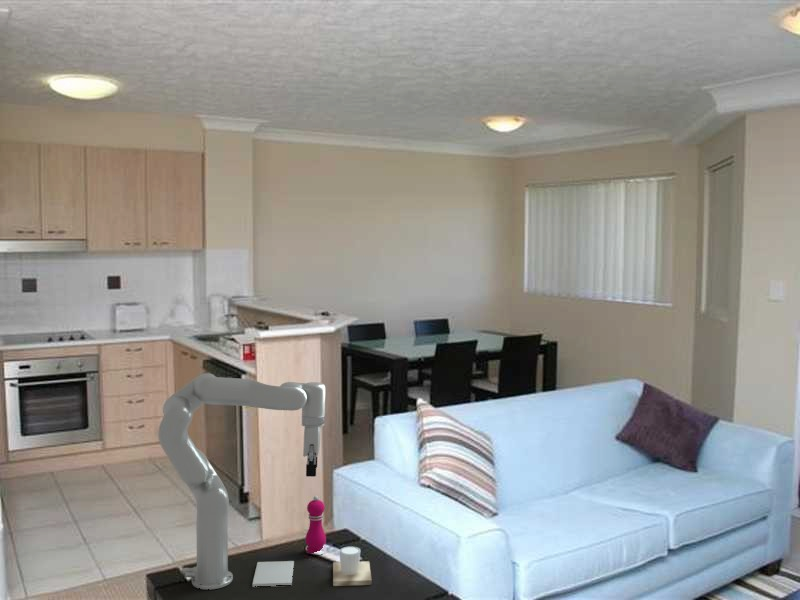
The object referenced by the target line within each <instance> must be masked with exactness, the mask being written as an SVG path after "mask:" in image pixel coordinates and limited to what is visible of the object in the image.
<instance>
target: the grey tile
mask: <svg viewBox="0 0 800 600" xmlns="http://www.w3.org/2000/svg"><path fill="white" fill-rule="evenodd" d="M294 566H295V561H294V560H287V561H286V560H284V561H282V560H281V561H280V560H279V561H257V563H256V568H255V572H254V576H253V579H252V586H251V587H252V588H258V587H257V586H271V587H277V586H276V585H291V586H292V585H293V577H292V576H294V569H293V568H295V567H294ZM255 586H256V587H255Z"/></svg>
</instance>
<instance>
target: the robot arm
mask: <svg viewBox="0 0 800 600" xmlns="http://www.w3.org/2000/svg"><path fill="white" fill-rule="evenodd" d="M325 385H326V384H324V383H322V382H311V381H310V382H306V383H305V382H295V381H286V382H284V383H281V385H279V386H278V385H277V386H276V385H271V384H268V383H267V384H266V383H263V382H259V381H257V380H255V379H250V378H238V377H237V378H234V377H223V376H220V377H219V376H216V375H215V374H212V373H208V372H207V373H202V374H200V375H197V376H196V377H195V378H193V379H192V380H191V381H189V382H188V383H186V384H185V385H184V386H182V387H181V388H180V389H179V390H177V391H176V392H174V393H173V394H172V395H171V396H169V397H168V398H167V399H166V400H165V401H164V404H163V406H162V414H163V417H162V419H161V421H160V424H159V427H158V441H159V444H160V447H161V448H162V450H163V452H164V453H165V455H166V457H167V459H168V460H169V462H170V463H171V465H172V466H173V468H174V469H175V471H176V472H177V475H178V477H179V478H180V480H181V481H182V482H183V483H185V484H186V485H187V487H188V488H189V490H190V492H192V494H193V496H194V498H195V499H194V500H195V502H196V528H195V529H196V530H195V531H196V566H193V567H183V568H182V575H184V577H185V578H190V577H192V578H191V584H192V586H193V587H194V588H196V589H199V588H200V590H208V589H209V590H216V589H221V588H224V587H226V586H228V585H230V584H231V583H232V582H233V579H234V575H233V573H232V572H231V571H229V560H228V559H229V555H228V554H229V553H228V552H229V551H228V550H229V549H228V548H229V543H228V542H229V539H228V537H229V536H228V535H229V534H228V533H229V530H228V524H229V523H228V522H229V519H228V517H229V507H230V506H229V505H230V499H229V493H228V491H227V488H226V487H225V485H224V483H223V481H222V479H221V478H220V476H219V475H218V473H217V472H216V470H215V469H214V468H213V465H212V464H211V463H210V461H209V460H208V457H207V456H206V455H205V454H204V452H203V451H202V450H200V449H198V448H197V447H196V445H195V443H194V441H193V440H192V439H191V437H190V435H189V427H190V425H191V423H192V421H193V418H194V412H195V411H196V410H197V409H199V408H200V407H201V406H203V405H204V404H207V405H216V406H238V407H239V406H240V407H250V408H258V409H264V410H265V409H266V410H272V411H273V410H274V411H298V410H300V409H301V426H302V427H304V428H303V450H302V451H303V452H302V454H303V455H302V456H303V457H304V458H305V457H307V458H306V465H305V476H306V477H316V476H317V468H318V456H319V453H320V452H319V451H320V445H321V430H322V427H324V426H325V421H326V420H325V419H326V418H325V417H326V416H325V415H326V386H325ZM209 590H208V591H209Z"/></svg>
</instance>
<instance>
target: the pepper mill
mask: <svg viewBox="0 0 800 600" xmlns="http://www.w3.org/2000/svg"><path fill="white" fill-rule="evenodd" d="M306 509H307V512H308V519H309V527H308V530H307V532H306V534H305V535H306V536H305V539H304V540H305V545H306V553H307V552H308V553H314V552H317V551H320V550H321V549H322V548H323V546H325V545H326V543H327V536H326V533H325V531H324V528H323V522H322V520H323V519H324V514H323V513H324V512H325V503H324V502H323V501H322V500H320V499H319V497H318V495H314V496H313V499H312V500H310V501H309V502H308V503H307V508H306Z"/></svg>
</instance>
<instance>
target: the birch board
mask: <svg viewBox="0 0 800 600" xmlns="http://www.w3.org/2000/svg"><path fill="white" fill-rule="evenodd" d="M332 570H333V571H332V586H333V587H343V586H344V587H345V586H346V587H347V586H372V581H373V579H372V572H371V563H370V561H369V560H367V561H360V562H359V572H358V573H357V574H355V575H344V574H342V572H341V563H340V561H333V562H332Z"/></svg>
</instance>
